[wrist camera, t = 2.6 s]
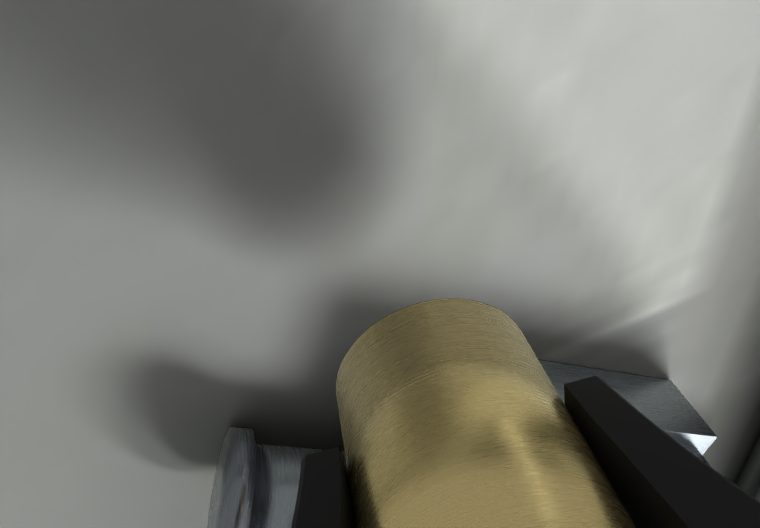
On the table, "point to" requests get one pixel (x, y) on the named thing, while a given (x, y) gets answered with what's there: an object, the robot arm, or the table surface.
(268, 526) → the valve body
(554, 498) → the brass cylinder
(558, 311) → the table surface
